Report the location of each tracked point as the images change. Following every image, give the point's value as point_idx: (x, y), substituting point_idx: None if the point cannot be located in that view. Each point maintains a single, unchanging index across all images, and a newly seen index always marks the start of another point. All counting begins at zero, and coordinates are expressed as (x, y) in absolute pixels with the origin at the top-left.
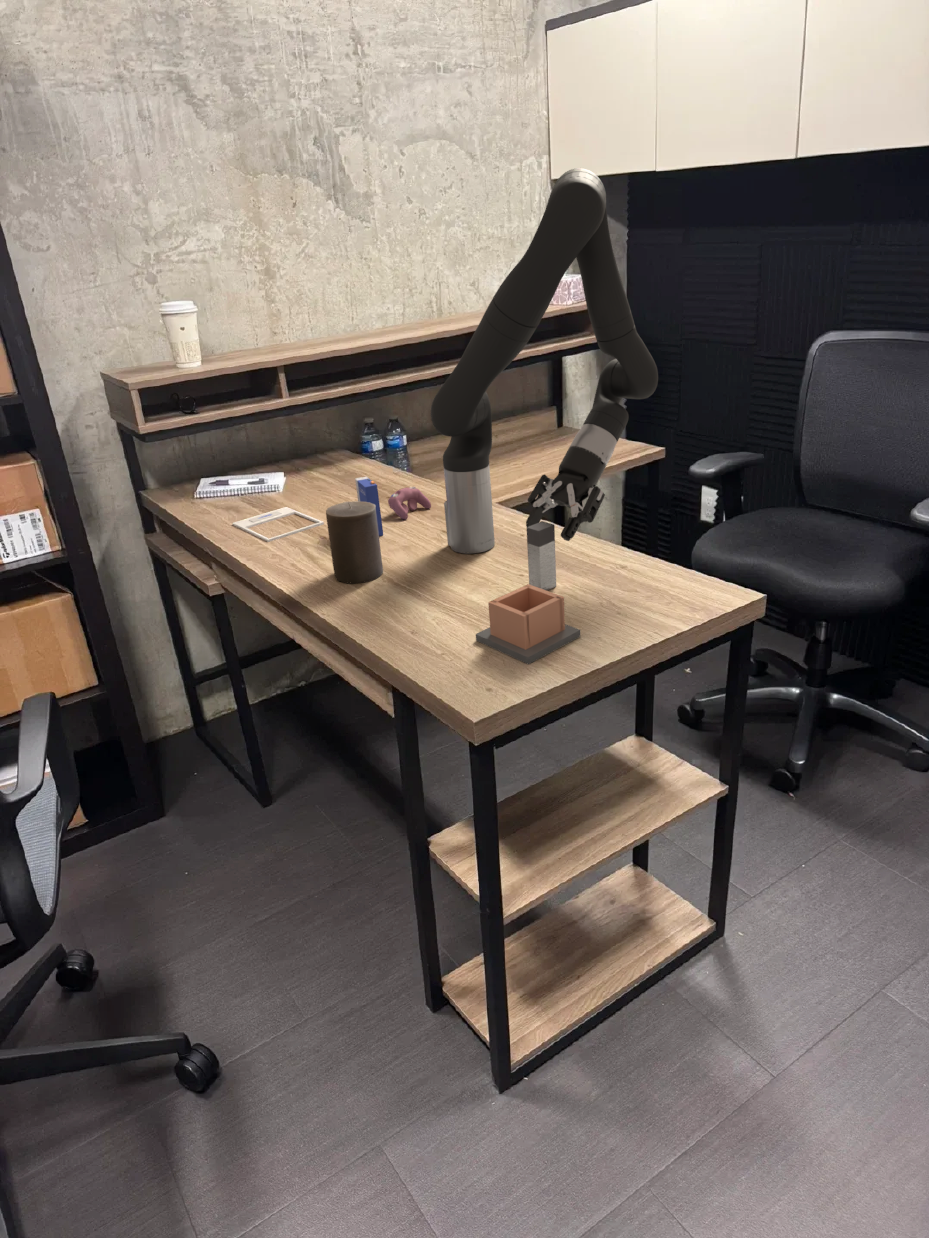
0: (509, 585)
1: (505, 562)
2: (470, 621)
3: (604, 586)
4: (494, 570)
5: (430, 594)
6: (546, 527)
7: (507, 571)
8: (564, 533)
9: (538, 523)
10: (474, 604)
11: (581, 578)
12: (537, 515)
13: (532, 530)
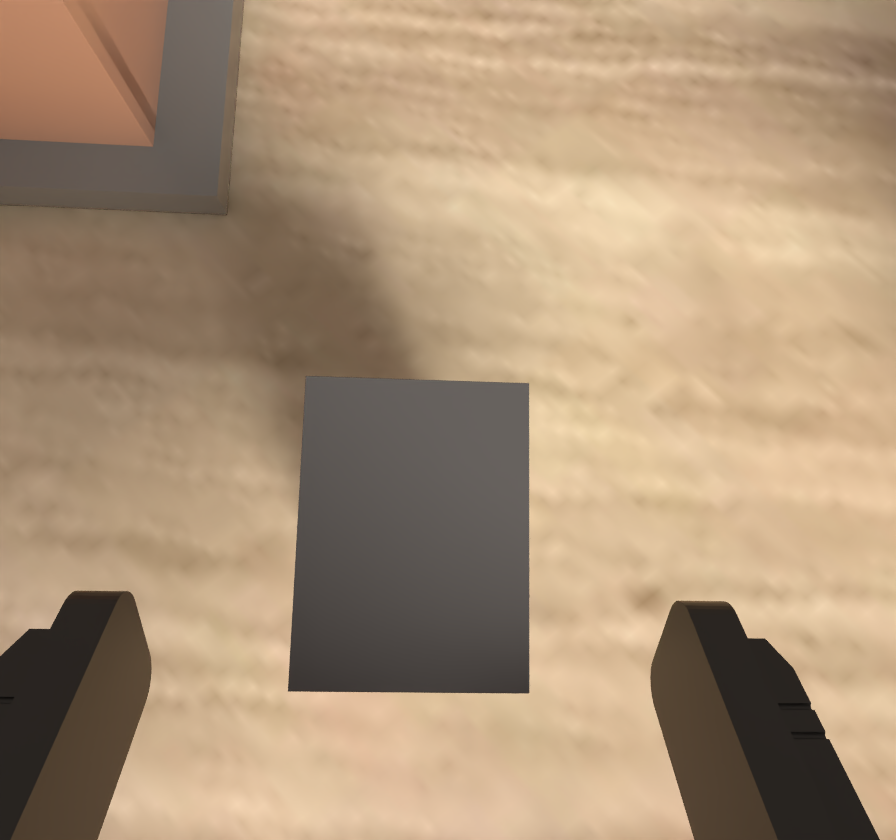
0: (593, 441)
1: (886, 693)
2: (424, 7)
3: None
4: (835, 550)
5: (834, 102)
6: (308, 538)
7: (762, 590)
8: (60, 613)
9: (505, 589)
10: (557, 149)
11: (301, 819)
12: (726, 807)
13: (417, 381)
